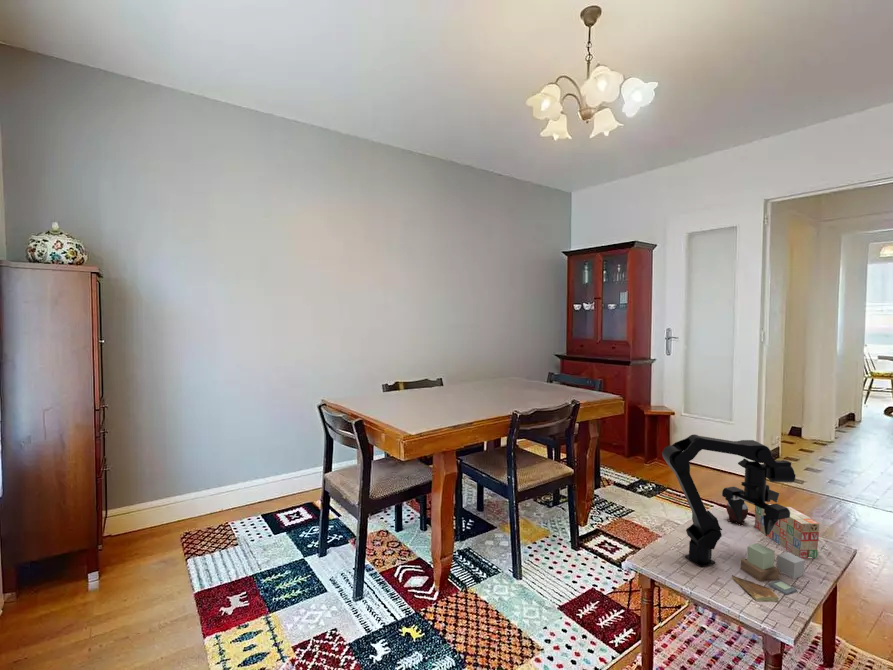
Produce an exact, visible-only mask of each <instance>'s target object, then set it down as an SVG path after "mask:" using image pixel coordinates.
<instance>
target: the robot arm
mask: <svg viewBox="0 0 893 670" xmlns="http://www.w3.org/2000/svg"><path fill="white" fill-rule="evenodd" d="M702 450H704V451H710V452H717V453H722V454H729V455H734V456H739V457H742V458H743V459H742V460H740V461H739V462H737V465H739V466H741V467H742V468H744V481H741V486H743V487H744V488H743V489H741V488H739V487H736V486H729V487H724V488H723V489H722V491H721V496H722V497H723V498H724V499H725V501H727V503H729V504H730V506H731V508H732V510H733V512H734V514H735V516H736V518H737V520H738V521H739V522H741V520H742V508H743V503H745V502H746V503H749V504H751V505H754V506H758V507H760V508H762V509H764V512H765V514H766V515H763V518H764V529H765V534H766V535H765V534H764V535H765V536H767V535H769V534H770V532H771V530H772V528H773V527H774V525H775V523H776V522H777V521H778V520H780V519H785V518H789V517H790V511H789V509H788V508H786V507H787V506H783V505H780V504H779V503H778V499H779V496H780V492H777V491H775V490H772V489H770V486H769V484H767V480H769V482H771V483H783V484H784V483H787V484H788V483H789V484H791V483H794V482H795V480H796V473H795V470H794V469H793V467H792V462H790V461H789V460H786V459H785V460H775V458H774V457H773V456H772V452H771V449H770V448H769V447H768V446H767V445H765V444H762V443H761V442H758V441H756V440H754V439H741V440H734V441H733V440H728V439H721V438H715V437H708V436H703V435H698V434H691V435H689V436H688V437H686V438H684V439H681V440H678V441H675V442H674V443H673V444H671V445H667V446H665V447H664V448H663V450H662V452H661V455H662V458H663V460H664V461H665V463H666V464H667V466H668V468H670V470H671V471H672V472H673V473H674V475H675V477H676V479H677V481H678V483H679V487H680V488H681V490H682V492H683V494H684V497H685V499H686V502H687V504H688V506H689V509H690V510H691V513H692V516H691V519H692V524H690V526H688V527H687V528H686V530H685V532H686V534H687V536H688V537H689V538H690V540H689V544H688V545H689V547H688V553H687V554H685V555H684V558H686V559H687V560H689V561H690V562H692V563H693V564H696V566H699V567H700V568H703V567H707V566H711V565H714V564H716V561H715V560H713V559H712V552H713V550H714V549H715V547H717V546H716V545H717V544H718V541H719V540H720V539H721V537H722V531H723V528H721V526H720V524H719V520H718V518H717V517H716V516H715V515H714V514H713V513H712V512H711V511H710V510H707V509H706V506H705V505H704V502H703V500H702V497H701V495H700V493H699V491H698V489H697V487H696V485H695V483H694V479H693V478H692V475H691V465H690V462H691V461H692V460H694V459H695V458H696V457H697V455H698V454H699V453H700V452H701V451H702ZM771 501H772V502H774V503H773V504H772V503H771V504H772V505H769V504H770V503H769V502H771ZM766 502H767V503H766Z"/></svg>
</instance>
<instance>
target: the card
mask: <svg viewBox="0 0 893 670" xmlns="http://www.w3.org/2000/svg"><path fill="white" fill-rule="evenodd" d="M768 586H769V587H770V588H772V589H774V590H776V591H778V592H780V593H781V594H783V595H784V596H788V595H791V594H794V593H797V592H798V589H797V588H795V587H793V586H792V585H790V584H788V583H786V582H785V581H782V580H781V579H776V580H773V581H772V582H769V583H768Z"/></svg>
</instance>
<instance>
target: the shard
mask: <svg viewBox="0 0 893 670" xmlns="http://www.w3.org/2000/svg"><path fill="white" fill-rule="evenodd" d="M731 577H732V580H733V581H734V582H735V583H737V584H738V585H739V586H741V588H742V589H743V590H745V591H746V593H748V594H749V595H750V596H751V598H753V600H755V601H756V602H777V601H778V600H779V595H777V594H776V593H775V592H773V589H771V588H769V587H766V586H765V585H761V584H758V583H756V582H753V581H750V580H747V579H743V578H741V577H739V576H735V575H733V574H732V575H731Z"/></svg>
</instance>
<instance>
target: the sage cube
mask: <svg viewBox="0 0 893 670" xmlns="http://www.w3.org/2000/svg"><path fill="white" fill-rule="evenodd" d="M775 551H776V550H773V549H771V548H770V547H767V546H765V545H763V544H761V543H758V542H757V543H754V544H749V545H747V551H746V559H747V562H749V563H751V564H753V565H755V566H757V567H759V568H760V569H762V570H765V569H768V568H771V567H774V566H775Z"/></svg>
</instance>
